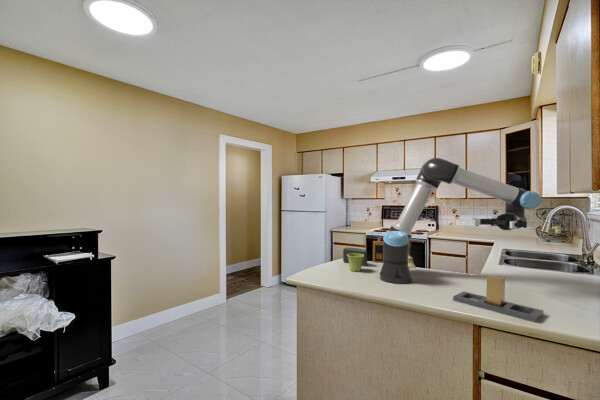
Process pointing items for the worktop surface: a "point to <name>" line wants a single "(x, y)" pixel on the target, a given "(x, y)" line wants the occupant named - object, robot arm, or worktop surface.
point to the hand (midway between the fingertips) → (491, 223)
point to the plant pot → (355, 261)
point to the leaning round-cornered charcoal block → (357, 251)
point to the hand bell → (410, 259)
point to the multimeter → (378, 250)
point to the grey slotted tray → (507, 309)
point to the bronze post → (495, 291)
